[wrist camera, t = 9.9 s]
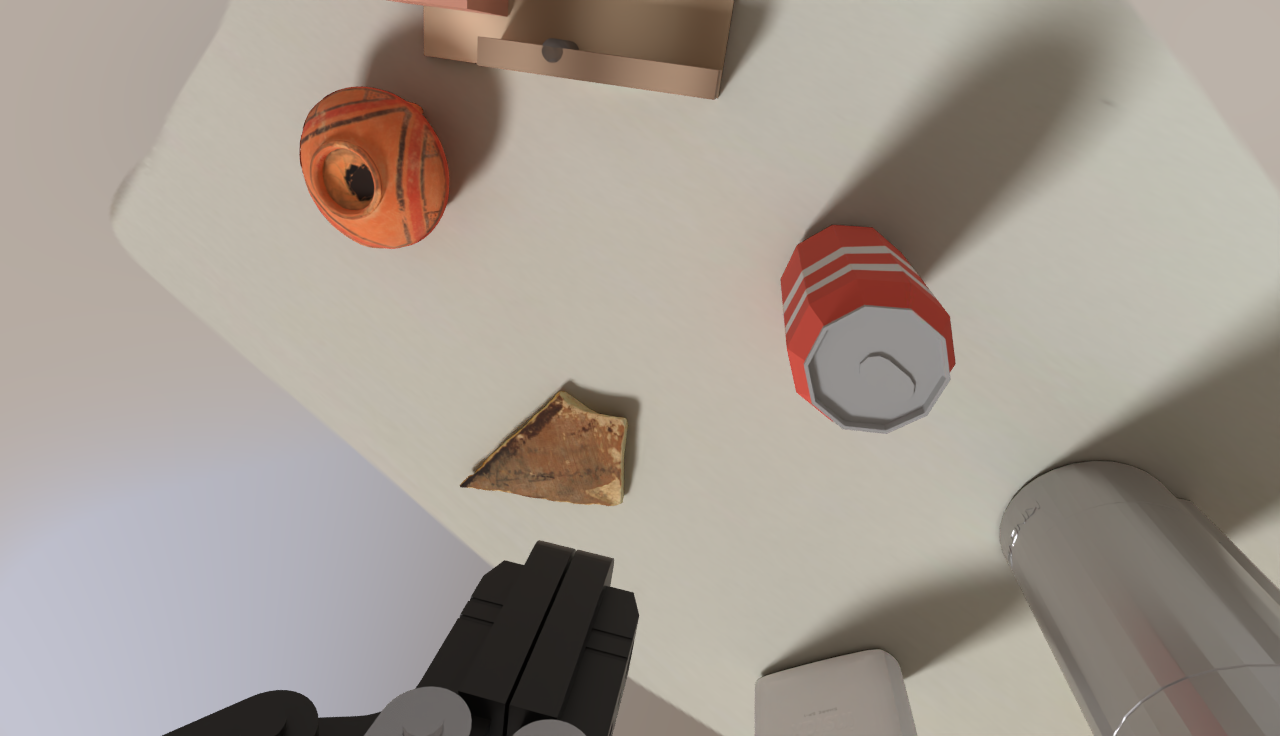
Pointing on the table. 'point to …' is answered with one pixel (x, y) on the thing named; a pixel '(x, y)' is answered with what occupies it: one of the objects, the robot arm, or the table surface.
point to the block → (466, 5)
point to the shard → (560, 457)
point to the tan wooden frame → (594, 41)
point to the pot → (374, 167)
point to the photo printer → (836, 698)
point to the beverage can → (863, 331)
